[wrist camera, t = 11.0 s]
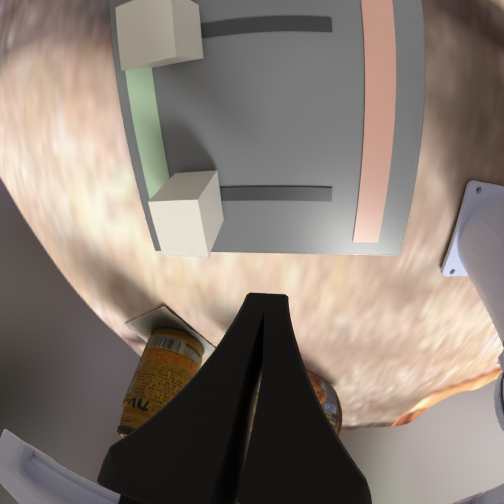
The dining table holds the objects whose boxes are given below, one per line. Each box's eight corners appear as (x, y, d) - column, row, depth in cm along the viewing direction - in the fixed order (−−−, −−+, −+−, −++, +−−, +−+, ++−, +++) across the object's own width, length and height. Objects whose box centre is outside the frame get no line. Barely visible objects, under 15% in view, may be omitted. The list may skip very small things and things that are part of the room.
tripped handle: (198, 5, 9) (170, -11, 6) (203, 58, 11) (176, 56, 8) (153, 16, 10) (115, 7, 7) (157, 66, 11) (121, 70, 9)
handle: (217, 170, 15) (197, 199, 12) (223, 219, 16) (208, 257, 13) (175, 173, 15) (147, 201, 12) (184, 220, 17) (163, 256, 14)
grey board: (404, -16, 8) (418, -25, 6) (391, 238, 18) (399, 256, 16) (126, 0, 10) (107, -5, 9) (165, 234, 20) (154, 251, 19)
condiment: (178, 364, 32) (150, 453, 22) (125, 322, 28) (80, 417, 19) (223, 353, 29) (199, 460, 19) (165, 303, 25) (116, 421, 16)
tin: (343, 390, 31) (344, 451, 25) (323, 397, 33) (321, 456, 26) (257, 337, 26) (244, 419, 19) (235, 347, 28) (220, 423, 21)
